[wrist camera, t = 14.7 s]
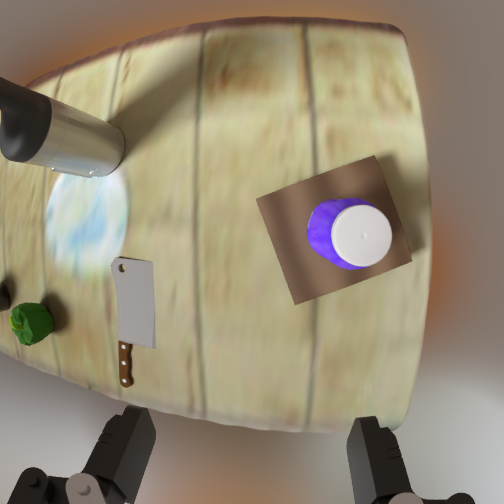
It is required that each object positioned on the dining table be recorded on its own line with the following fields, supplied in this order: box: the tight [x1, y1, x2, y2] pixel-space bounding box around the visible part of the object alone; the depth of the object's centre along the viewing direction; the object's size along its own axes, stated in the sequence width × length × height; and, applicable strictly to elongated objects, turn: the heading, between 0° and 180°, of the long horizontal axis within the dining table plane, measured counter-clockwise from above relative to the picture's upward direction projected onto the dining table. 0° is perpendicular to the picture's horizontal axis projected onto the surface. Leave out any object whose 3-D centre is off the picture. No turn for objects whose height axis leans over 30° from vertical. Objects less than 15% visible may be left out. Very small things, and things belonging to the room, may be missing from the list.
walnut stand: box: [256, 155, 412, 305], centre depth 38 cm, size 16×14×4 cm
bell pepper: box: [9, 303, 54, 346], centre depth 46 cm, size 8×8×10 cm
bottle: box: [307, 198, 392, 270], centre depth 27 cm, size 7×6×17 cm
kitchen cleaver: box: [111, 257, 156, 388], centre depth 46 cm, size 24×1×10 cm
